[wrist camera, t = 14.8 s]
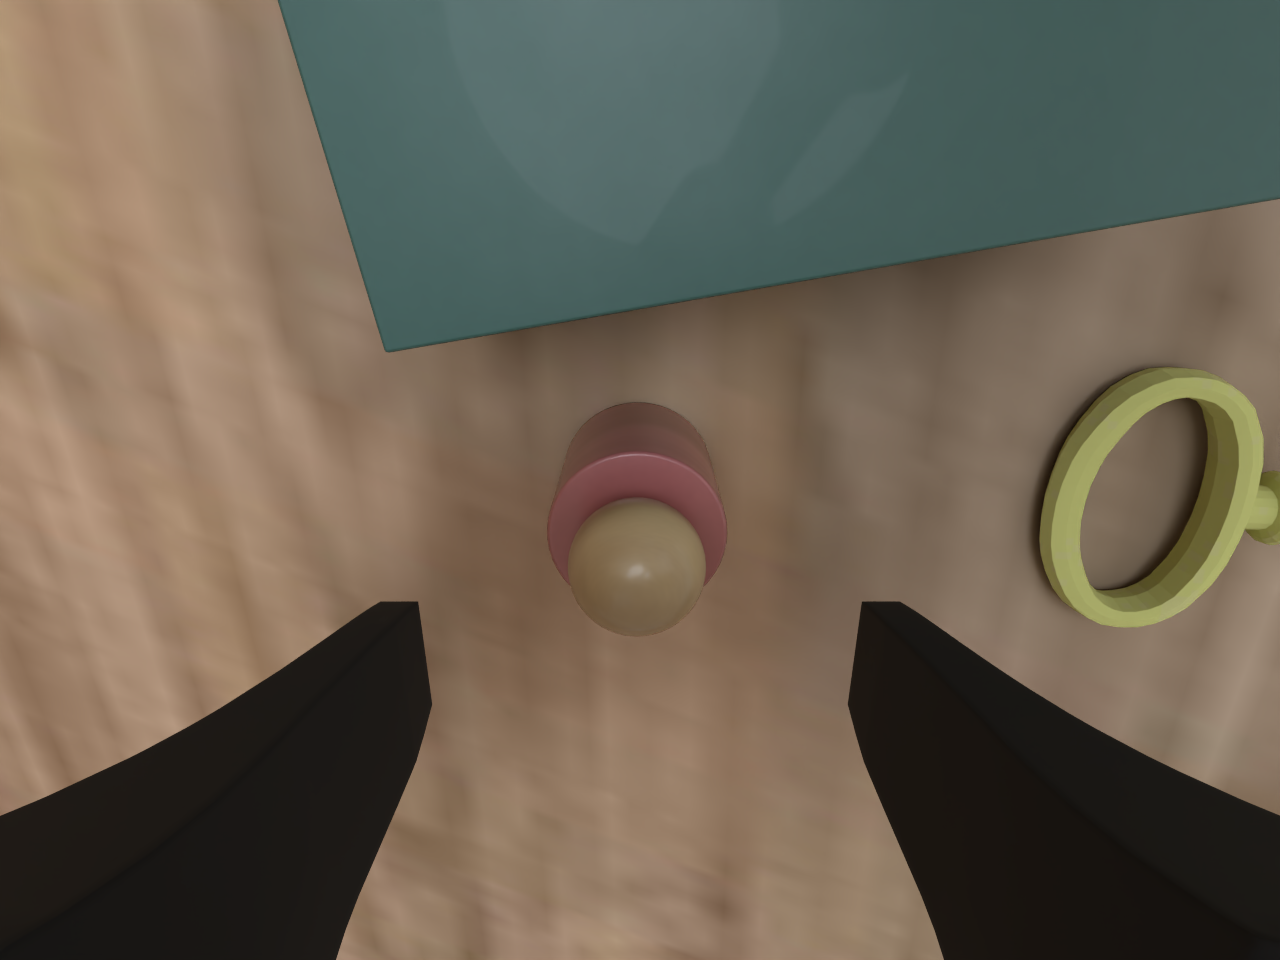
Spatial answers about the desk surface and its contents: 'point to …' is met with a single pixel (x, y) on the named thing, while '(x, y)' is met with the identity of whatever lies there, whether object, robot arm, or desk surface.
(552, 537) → the doll
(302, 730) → the robot arm
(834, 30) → the cabinet
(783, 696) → the desk surface
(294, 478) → the desk surface
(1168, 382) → the key
